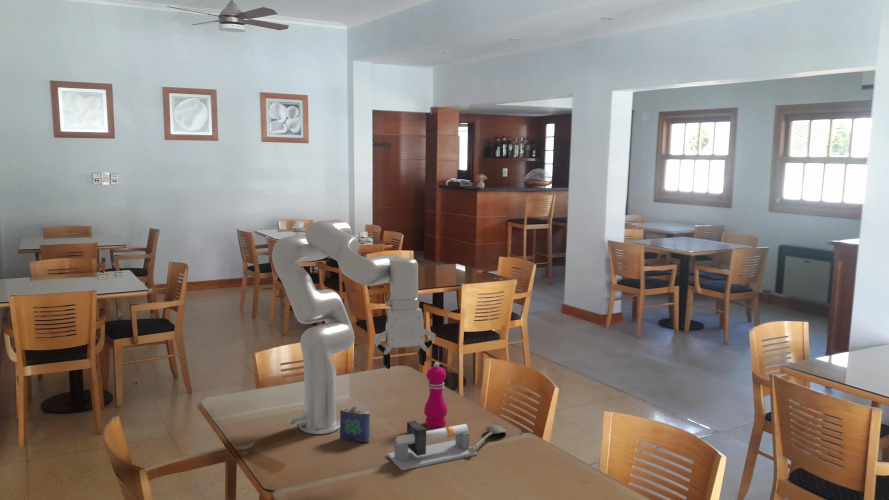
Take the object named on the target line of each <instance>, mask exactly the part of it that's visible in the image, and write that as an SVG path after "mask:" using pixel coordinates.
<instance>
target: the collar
mask: <svg viewBox="0 0 889 500" xmlns="http://www.w3.org/2000/svg"><path fill="white" fill-rule="evenodd" d="M426 431H427V428H425V427H424V426H423V425H422V424H420V423H419V422H418V421H416V420H410V421H407V422H406V435H408V434H414V435H415V443H413V444H408V449H411V450H412V451H413V452H414V453H415V454H416V455H417V456H419V455H424V454H426V446H427V441H426Z"/></svg>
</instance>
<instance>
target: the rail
mask: <svg viewBox="0 0 889 500" xmlns="http://www.w3.org/2000/svg"><path fill="white" fill-rule="evenodd" d="M450 437H455V439H453V440H448V441H442V442H438V443H433V444H428V445H427V444H426V454H424V455H419V456H417V455H416V454H415V453H414V452H413V451H412V450H411V449H409V448H408V444H413V443H415V435H414V434H408V435H407V434H403V435H397V436H396V437H395V440H394V451H392V452H387V454H386V455H387V457H388V458H389V459H390V460H391V462H392V463H394V464H395V466H397V467H398V469H399V470H400V471H406V470H407V471H408V470H412V469H416V468H421V467H426V466H431V465H435V464H440V463H445V462H449V461H454V460H460V459H463V458H464V457H465V458H470V457H473V456H478V451H476V449H475V450H474V453H470V452H469V451H468V449H469V448H472V446H470V432H469V428H468V424H466V423H463V424H458V425H450V426H446V427H445V426H444V427H440V428H434V429H431V430H430V429H429V430H426V442H428V441H433V440H438V439H444V438H450Z"/></svg>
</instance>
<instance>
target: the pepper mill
mask: <svg viewBox="0 0 889 500" xmlns="http://www.w3.org/2000/svg"><path fill="white" fill-rule="evenodd" d="M446 378H447V371H446V370H445V369H444V368H443V367H441V366H440V362H438V361H436V362H433V366H431V367H430V368H429V369H428V370H427V371H426V380H428V383H427V384H428V386H427V387H428V388H429V394H428V395H429V396H428V397H427V398H428V399H427V401H426V402H425V404H424V411H423V412H424V415H425V416H426V418H425V425H426V426H427V427H428V428H433V429H440V428H444V427H445V426H446V416H447V414H448V407H447V404H446V401H445V398H444V395H443V390H444V387H445V382H444V381H445V380H446Z"/></svg>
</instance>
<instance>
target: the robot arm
mask: <svg viewBox="0 0 889 500" xmlns="http://www.w3.org/2000/svg"><path fill="white" fill-rule="evenodd" d="M359 249H360V244H359V240H358V239H357V238H356V236H354V235H353V231H352V227H351V226H350V225H349V224H348V223H347V222H346V221H345V220H342V219H329V220H328V219H327V220H325V219H324V220H318V221H317V220H316V221H315V222H312V223H310V224H309V225H308V226H307V228H306V229H305V233H303V234H294V235H293V234H292V235H288V236H283V237H281V238H280V239H278V240H277V241H276V242H275V244H274V245H273V248H272V253H271V255H272V256H271V260H272V265H273V267H274V270H275V272H276V274H277V276H278V277H279V280H280V282H281V283H282V285H283V287H284V291H285V293H286V295H287V298H288V301H289V303H290V306H291V308H292V311H293V314H294V317H295V318H296V320H297V322H299V323H300V324H303V325H309V324H313V323H314V324H315V323H318V322H322V321H324V322H325V323H323V324H318V325H315V326H312V327H310V328H308V329H306V330H305V331H304V332H303V333H302V335H301V337H300V349H301V354H302V360H303V380H304V381H303V382H304V383H303V384H304V387H303V389H304V393H303V394H304V398H303V399H304V411H302V412H301V414H299V416H293V417H288V424H289V425H293V424H294V425H295V426H299V429H300V431H302V432H303V433H306V434H311V435H326V434H330V433H334V432H336V431H339V430H340V418H338V417H337V370H336V367H335V364H334V362H333V360H332V358H331V355H332V356H333V355H334V354H335V355H336V354H338V353H341V352H345V351H347V350H350V348H351V347H352V346H353V345H354V343H355V331H354V329H353V325H352V322H351V320H350V317H349V315H348V312H347V310H346V307H345V304H344V302H343V300H342V298H341V296H340V294H338V293H337V292H336V291H334V290H333V289H328V288H327V289H325V288H324V289H319V290H318V289H317V288H316V287H315V284H314V282H313V279H312V277H311V276H310V274H309V273H308V271H306V269H305V268H304V267H302V266H301V265H300V263H307V262H313V261H320V260H323V259H326V258H327V257H329V258H330V259H332V260H335V261H336V262H337V264H338V267H339V269H340V271H341V273H342V274H343V275H344V277H345V276H346V277H347V278H348V279H350V280H352V281H353V282H354V283H357V284H359V285H361V286H366V287H370V286H371V287H372V286H376V285H377V286H378V285H382V284H388V283H389V284H390V285H389V290H390V291H389V293H390V297H389V300H385V301H384V303H385V304H384V306H385V307H388V308H389V309H387V314H386V321H385V331H382V332H381V333H380V334H378V335H376V336H375V337H373V338H372V341H373V342H374V344H375V346H376V348H377V349H378V350H379V351H381V352H382V356H383V357H382V358H383V359H382V360H383V361H382V363H383V366H385V367H386V369H387V370H390V369H391V354H390V352H391V350H393V349H401V348H411V347H420V348H419V349H418V363H419V364H420V365H421V366H422V367H423V366H425V364H426V362H427V352H428V350H429V348H430V347H431V346H432V345H433V342H434V340H435V338H436V337H437V334H436V333H434V332H432V331H430V330H428V329H426V328H425V325H424V324H425V323H424V322H425V321H424V316H423V310H422V308H420V307H419V263H418V261H417V260H416V259H414V258H409V257H399V256H396V255H392V254H388V255H380V256H379V255H378V256H372V257H365V256H362V255H360V254H358V253H359ZM425 335H426V336H428V339H427V340H426V337H425ZM383 339H385V344H384V346H383V345H382V344H381V340H383ZM425 340H426V341H425Z"/></svg>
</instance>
